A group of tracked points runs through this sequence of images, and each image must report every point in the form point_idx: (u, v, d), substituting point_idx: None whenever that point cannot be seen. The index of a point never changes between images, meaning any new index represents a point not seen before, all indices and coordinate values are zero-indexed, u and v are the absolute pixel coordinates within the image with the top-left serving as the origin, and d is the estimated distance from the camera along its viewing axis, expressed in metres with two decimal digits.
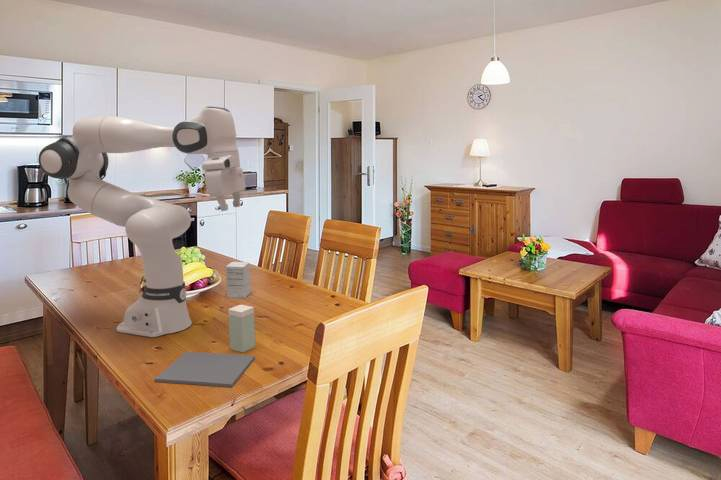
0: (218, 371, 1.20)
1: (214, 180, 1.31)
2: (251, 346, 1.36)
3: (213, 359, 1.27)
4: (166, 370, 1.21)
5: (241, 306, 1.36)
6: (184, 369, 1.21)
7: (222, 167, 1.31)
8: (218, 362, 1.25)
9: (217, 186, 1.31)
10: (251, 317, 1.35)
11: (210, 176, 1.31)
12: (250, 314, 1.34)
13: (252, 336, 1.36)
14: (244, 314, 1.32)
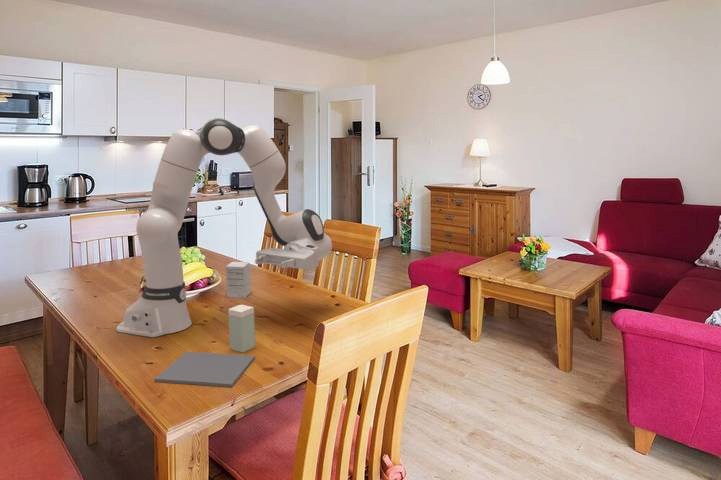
0: (218, 371, 1.20)
1: (312, 262, 1.45)
2: (251, 346, 1.36)
3: (213, 359, 1.27)
4: (166, 370, 1.21)
5: (241, 306, 1.36)
6: (184, 369, 1.21)
7: (315, 266, 1.49)
8: (218, 362, 1.25)
9: (309, 265, 1.44)
10: (251, 317, 1.35)
11: (313, 257, 1.46)
12: (250, 314, 1.34)
13: (252, 336, 1.36)
14: (244, 314, 1.32)
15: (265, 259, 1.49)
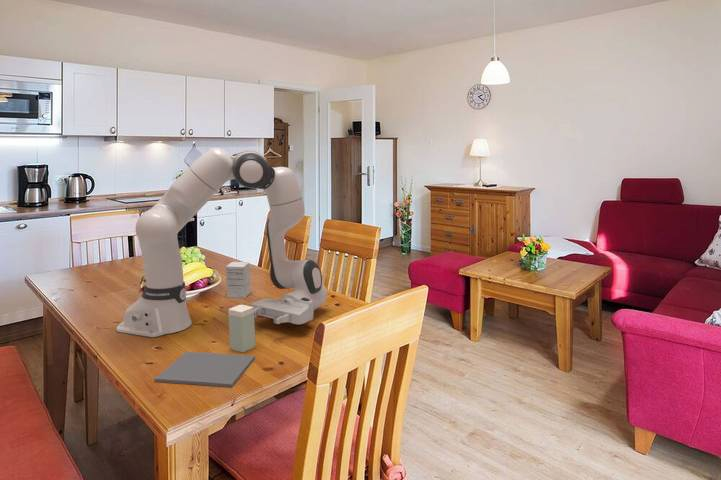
0: (218, 371, 1.20)
1: (307, 317, 1.46)
2: (251, 346, 1.36)
3: (213, 359, 1.27)
4: (166, 370, 1.21)
5: (241, 306, 1.36)
6: (184, 369, 1.21)
7: (310, 319, 1.50)
8: (218, 362, 1.25)
9: (304, 320, 1.45)
10: (251, 317, 1.35)
11: (308, 312, 1.47)
12: (250, 314, 1.34)
13: (252, 336, 1.36)
14: (244, 314, 1.32)
15: (260, 312, 1.49)
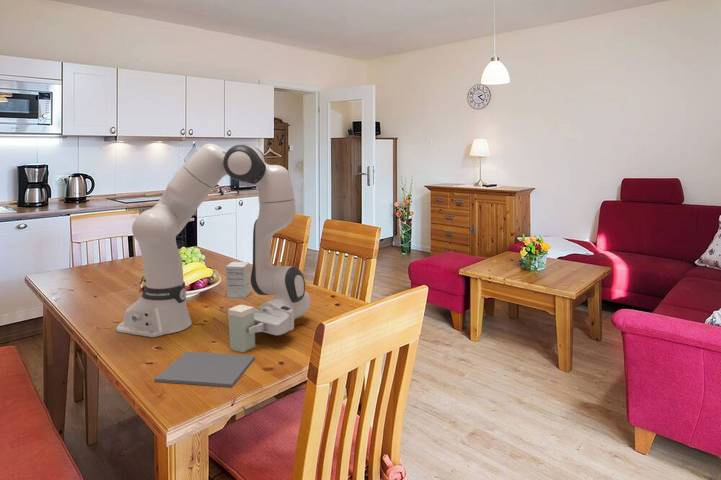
0: (218, 371, 1.20)
1: (286, 327, 1.38)
2: (251, 346, 1.36)
3: (213, 359, 1.27)
4: (166, 370, 1.21)
5: (241, 306, 1.36)
6: (184, 369, 1.21)
7: (290, 329, 1.42)
8: (218, 362, 1.25)
9: (283, 331, 1.36)
10: (251, 317, 1.35)
11: (288, 322, 1.38)
12: (250, 314, 1.34)
13: (252, 336, 1.36)
14: (244, 314, 1.32)
15: None
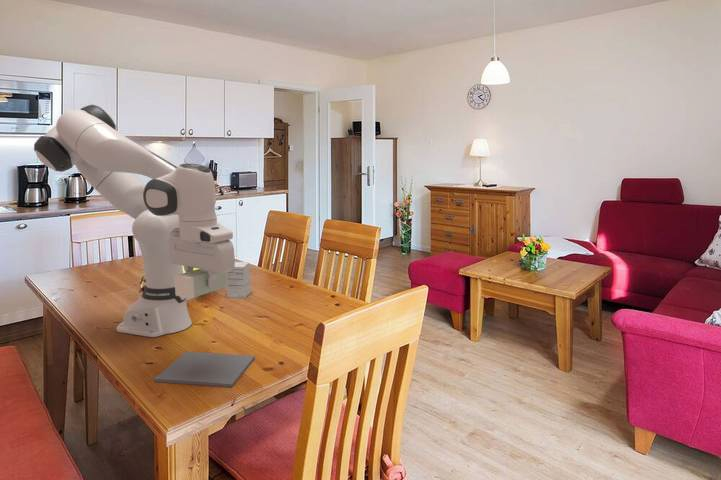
0: (218, 371, 1.20)
1: (230, 253, 1.13)
2: (224, 274, 1.22)
3: (213, 359, 1.27)
4: (166, 370, 1.21)
5: (178, 281, 1.14)
6: (184, 369, 1.21)
7: (231, 237, 1.14)
8: (218, 362, 1.25)
9: (232, 260, 1.13)
10: (197, 280, 1.14)
11: (225, 250, 1.11)
12: (194, 282, 1.13)
13: None
14: (192, 293, 1.13)
15: None
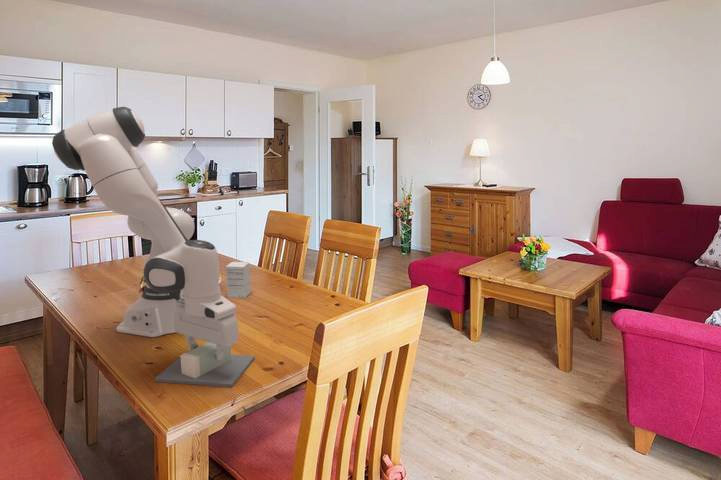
0: (218, 371, 1.20)
1: (234, 328, 1.16)
2: (228, 348, 1.25)
3: None
4: (166, 370, 1.21)
5: (184, 361, 1.17)
6: None
7: (235, 311, 1.18)
8: None
9: (236, 333, 1.17)
10: (203, 359, 1.18)
11: (229, 325, 1.15)
12: (200, 362, 1.17)
13: None
14: (198, 372, 1.17)
15: None
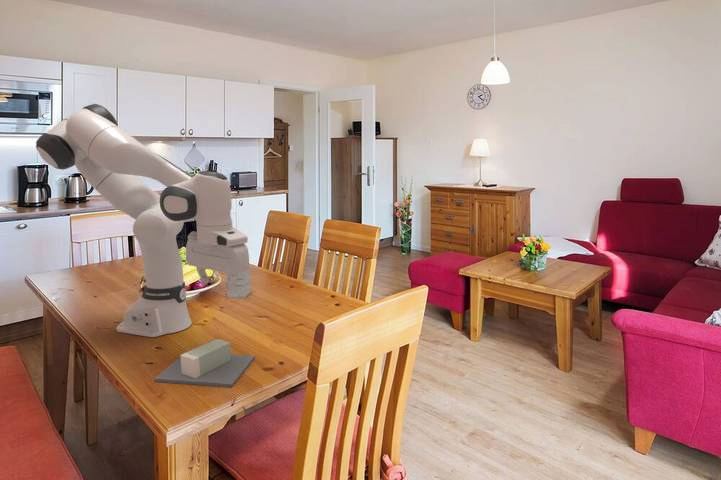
0: (218, 371, 1.20)
1: (245, 256, 1.19)
2: (228, 348, 1.25)
3: None
4: (166, 370, 1.21)
5: (184, 361, 1.17)
6: None
7: (246, 241, 1.21)
8: None
9: (247, 262, 1.19)
10: (203, 359, 1.18)
11: (240, 253, 1.18)
12: (200, 362, 1.17)
13: (220, 351, 1.23)
14: (198, 372, 1.17)
15: None
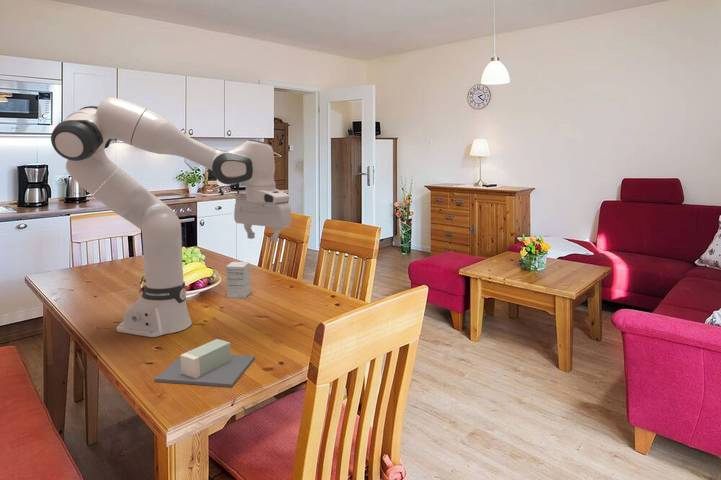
0: (218, 371, 1.20)
1: (288, 212, 1.39)
2: (228, 348, 1.25)
3: None
4: (166, 370, 1.21)
5: (184, 361, 1.17)
6: None
7: (288, 200, 1.41)
8: None
9: (289, 217, 1.40)
10: (203, 359, 1.18)
11: (284, 209, 1.38)
12: (200, 362, 1.17)
13: (220, 351, 1.23)
14: (198, 372, 1.17)
15: (250, 224, 1.47)
